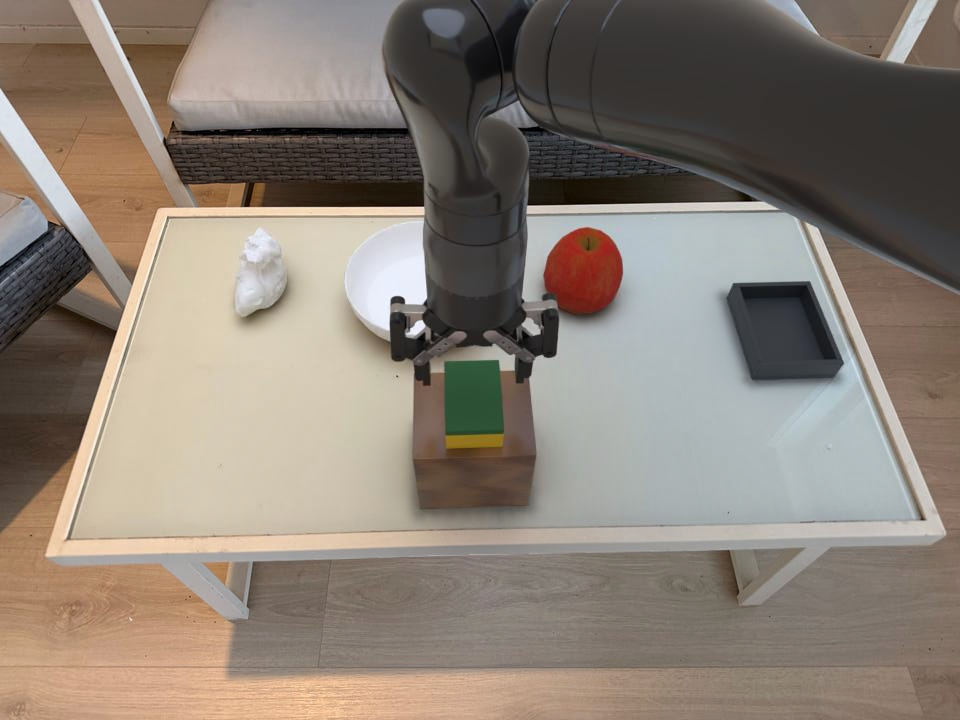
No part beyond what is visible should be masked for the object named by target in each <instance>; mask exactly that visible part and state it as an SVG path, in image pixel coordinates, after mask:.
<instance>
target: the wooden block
mask: <svg viewBox="0 0 960 720" xmlns="http://www.w3.org/2000/svg"><path fill="white" fill-rule="evenodd" d="M500 379H501V393H502V407H503V421H504V437H503V447H484V448H453V449H447V448H446V435H445V384H444V372H431V386H423V381H417V380H416V379H415V374H414V373H413V402H412V403H413V404H412V405H413V406H412V410H413V411H412V465H413V471H414V478H415V485H416V491H417V493H416V494H417V500H418V505H419V506H418V507H419V509H420V510H423V509H425V510H426V509H452V508H453V509H454V508H456V509H457V508H481V507H484V508H485V507H511V506H529V502H530V497H531V492H532V491H531V490H532V485H533V480H534V479H533V478H534V473H535V469H536V462H537V458H538V457H537V456H538V453H537V443H536V433H535V424H534V413H533V404H532V403H533V402H532V394H531V393H532V392H531V384H530V377H529V378H524V383H520V384H516V380H515V370H500Z"/></svg>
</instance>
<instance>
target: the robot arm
mask: <svg viewBox="0 0 960 720" xmlns="http://www.w3.org/2000/svg"><path fill="white" fill-rule="evenodd" d="M390 14H391V15H390V16H389V18H388V20H387V22H386V25H385V28H384V32H383V35H382V41H381V54H380V55H381V64H382V70H383V74H384V76H385V79H386V82H387V85H388V87H389V89H390V92H391V94H392V96H393V98H394V100H395V103H396V105H397V107H398V109H399V111H400V114H401V117H402V119H403V121H404V123H405V126H406V129H407V131H408V134H409V136H410V140H411V142H412V145H413V148H414V150H415V154H416V157H417V159H418V162H419V166H420V169H421V178H422V192H423V195H422V196H423V208H424V217H423V221H424V225H423V250H424V262H425V276H426V290H427V299H426V300H425V301H424V303H423V305H419V304H405V299H404V298H403V297H401V296H394V297H392V298H391V300H390V323H389V324H390V341H389V345H390V359H391V360H392V361H393V362H396V363H400V362H404V361H405V360H406V359H407V360H410V361H411V362H412V365H413V375H414V374H415V379H416V380H417V381H423V386H431V373H432V371H431V370H432V368H431V360H432V359H433V358H434V357H437V358H440V357H441V356H443V355H444V354H445V353H446V352H447V351H449V350H451V348H453V347H454V346H455V348H468V347H474V346H476V347H483V348H484V347H485V348H487V347H493V345H496V346H497V347H498V348H500V349H501V350H502V351H504V352H505V353H506V354H507V355H509V356H512V355H514V364H513V365H514V366H513V367H514V371H515V380H516V384H520V383H524V378H529V379H530V378H531V376H532V374H533V366H534V362H535V360H536V358H537V357H540V356H543V358H546V359H552V358H555V357H556V356H557V353H558V343H559V342H558V341H559V328H560V314H559V313H560V312H559V306H558V305H557V299H556V295H555V294H554V293H548V292H546V293H544V294H542V295H541V300H538V301H525V299H524V298H523V292H524V291H523V290H524V280H525V271H526V259H527V250H528V238H529V234H528V231H529V230H528V221H527V220H528V219H527V217H528V216H527V213H528V212H527V211H528V201H529V190H530V181H531V180H530V179H531V168H532V167H531V151H530V147H529V144H528V141H527V139H526V136H525V135H524V134H523V132H522V131H521V130H520V129H519V128H518V127H517V126H515V125H514V124H513V123H511V122H509V121H507V120H505V119H503V118H501V117H498V116H494V115H493V114H495V113H497V112H499V111H501V110H503V109H505V108H507V107H508V106H511V105H512V104H514V103H517V102H519V104H520V107H521V108H522V109H523V111H524V112H525V113H526V115H527V116H528V117H529V118H530V119H531V120H532V121H533V122H534V123H535V124H536V125H538V127H540V128H542V129H544V130H545V131H547V132H548V133H549V132H550V133H552V134H554V135H557V136H559V137H561V138H566V139H568V140H572V141H575V142H579V143H583V144H587V145H591V146H594V147H599V148H603V149H606V150H610V151H614V152H618V153H621V154H626V155H629V156H633V157H638V158H643V159H647V160H649V161H654V162H657V163H660V164H664V165H668V166H671V167H675V168H677V169H682V170H684V171H687V172H690V173H693V174H696V175H699V176H701V177H704V178H708V179H710V180H713V181H716V182H718V183H721V184H722V185H725V186H727V187H729V188H732V189H734V190H736V191H739V192H741V193H743V194H746V195H748V196H750V197H751V198H754V199H756V200H759V201H761V202H763V203H764V204H767V205H769V206H771V207H773V208H775V209H777V210H780V211H782V212H784V213H786V214H788V215H790V216H792V217H794V218H796V219H798V220H800V221H802V222H804V223H806V224H809V225H810V226H812V227H814V228H816V229H819V230H820V231H823V232H824V233H826V234H829V235H830V236H833V237H835V238H837V239H839V240H841V241H844V242H846V243H848V244H849V245H852V246H854V247H855V248H857V249H860V250H862V251H864V252H867V253H868V254H871V255H872V256H875V257H877V258H879V259H881V260H884V261H886V262H887V263H888V262H889V263H891V264H893V265H895V266H897V267H899V268H900V269H903V270H906V271H908V272H910V273H913V274H914V275H917V276H919V277H921V278H923V279H925V280H927V281H929V282H931V283H934V284H936V285H938V286H940V287H941V288H943V289H946V290H948V291H951V292H952V293H954V294H957V295H958V296H960V68H956V67H955V68H952V67H935V66H928V65H927V66H926V65H918V64H908V63H905V62H897V61H891V60H889V59H888V60H887V59H883V58H878V57H874V56H870V55H867V54H863V53H859V52H856V51H854V50H852V49H850V48H846V47H845V46H841V45H839V44H837V43H834V42H832V41H830V40H828V39H826V38H825V37H822V36H820V35H819V34H817V33H816V32H814V31H812V30H811V29H809V28H807V27H806V26H804V25H803V24H801V22H799V21H797V20H795V18H793V17H791V16H790V15H788V14H787V13H785V12H783V10H781V9H779V8H778V7H776V6H774V5H773V4H771V3H770V2H768V1H766V0H401V1H400V2H398V4H397V5H396V6H395V8H394V9H393V10H392V11H391V13H390ZM492 115H493V116H492ZM528 318H529V319H531V320H532V321H533V324H534V325H536V326H538V329H539V334H534V335H533V333H532V332H530V330H528V329H527V328H526V327H524V326H523V324H524V323H525V321H526V319H528ZM420 320H423V322H424V324H425V328H424V329H423V330H421V331H420V332H419V333H418V334H417V335H416V336H415V337H414V338H408V337H406V333H409V332H410V328H412V327H414V325H415V323H416V322H417V321H420Z"/></svg>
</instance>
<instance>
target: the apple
mask: <svg viewBox="0 0 960 720" xmlns="http://www.w3.org/2000/svg"><path fill="white" fill-rule="evenodd" d="M623 263H624V262H623V257H622V255H621V252H620V249H619V247H618V246H617V244H616V242H615V241H614V240H613V239H612V237H611V236H610V235H608V234H607V233H605V232H604V231H602V229H597V228H594V227H589V226H585V227H579V228H577V229H574V230H572V231H569V232H568V233H567V234H565V235H564V236H562V237H561V238H560V239H559V240H558V241H557V243H556V244H555V245H554V246H553V247H552V249H551V250H550V252H549V254H548V255H547V256H546V263H545V265H544V266H545V267H544V270H543V276H542V277H543V283H544V287H545V290H546V291H547V292H546V293H554V294H555V295H556V299H557V306H558V308H560V309H562V310H564V311H566V312H568V313H572V314H578V315H579V314H580V315H585V314H592V313H596V312H599V311H600V310H602V309H605V308H607V307H608V306H609V305H610V304H611V302H613V301H614V300H615V298H616V296H617V294H618V292H619V289H620V288H621V284H622V281H623V276H624V264H623Z"/></svg>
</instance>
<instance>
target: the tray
mask: <svg viewBox="0 0 960 720" xmlns="http://www.w3.org/2000/svg"><path fill="white" fill-rule="evenodd" d="M726 301H727V305H728V307H729V310H730V313H731V317H732V320H733V323H734V326H735V329H736V333H737V335H738V339H739V342H740V345H741V348H742V351H743V355H744V357H745V361H746V364H747V367H748V370H749V373H750V377H751V379H752V380H754V381H755V380H758V381H759V380H790V379H791V380H794V379H826V378H827V379H829V378H830V379H831V378H834V377H836V375H837V374H838V373H839V371H840V370H841V369H842V367H843V366H844V365H845V362H844V359H843V357H842V354H841V352H840V349H839V347H838V345H837V342H836V340H835V338H834V335H833V333H832V330H831V328H830V325H829V324H828V323H829V322H828V321H827V318H826V315H825V314H824V312H823V309H822V307H821V304H820V301H819V299H818V297H817V294H816V292H815V289H814V287H813V285H812V283H811V281H810V280H801V281H800V280H799V281H798V280H797V281H794V280H793V281H765V282H764V281H761V282H760V281H759V282H757V281H756V282H733V283H732V285H731V286H730V289H729V291H728V294H727V295H726Z"/></svg>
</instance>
